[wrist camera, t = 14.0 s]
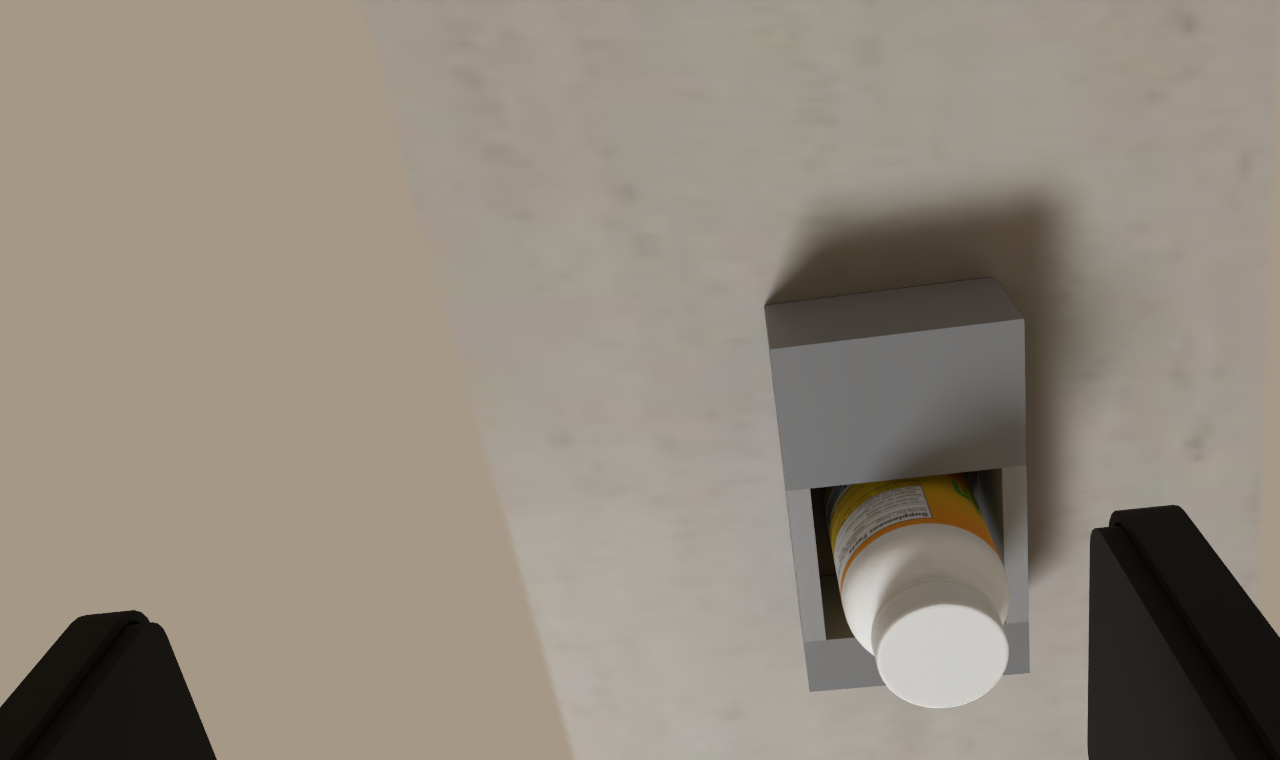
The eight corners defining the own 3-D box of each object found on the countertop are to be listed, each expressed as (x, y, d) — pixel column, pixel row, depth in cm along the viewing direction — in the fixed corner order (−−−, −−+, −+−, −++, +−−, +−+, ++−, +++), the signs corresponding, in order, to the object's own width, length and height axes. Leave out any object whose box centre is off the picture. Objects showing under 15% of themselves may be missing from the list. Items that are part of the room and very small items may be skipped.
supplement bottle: (985, 526, 43) (1058, 696, 34) (853, 572, 44) (890, 748, 35) (938, 410, 41) (1002, 559, 32) (801, 462, 42) (826, 619, 33)
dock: (764, 305, 39) (770, 349, 36) (994, 276, 39) (1024, 318, 35) (801, 625, 45) (809, 691, 41) (1002, 607, 44) (1029, 672, 41)
